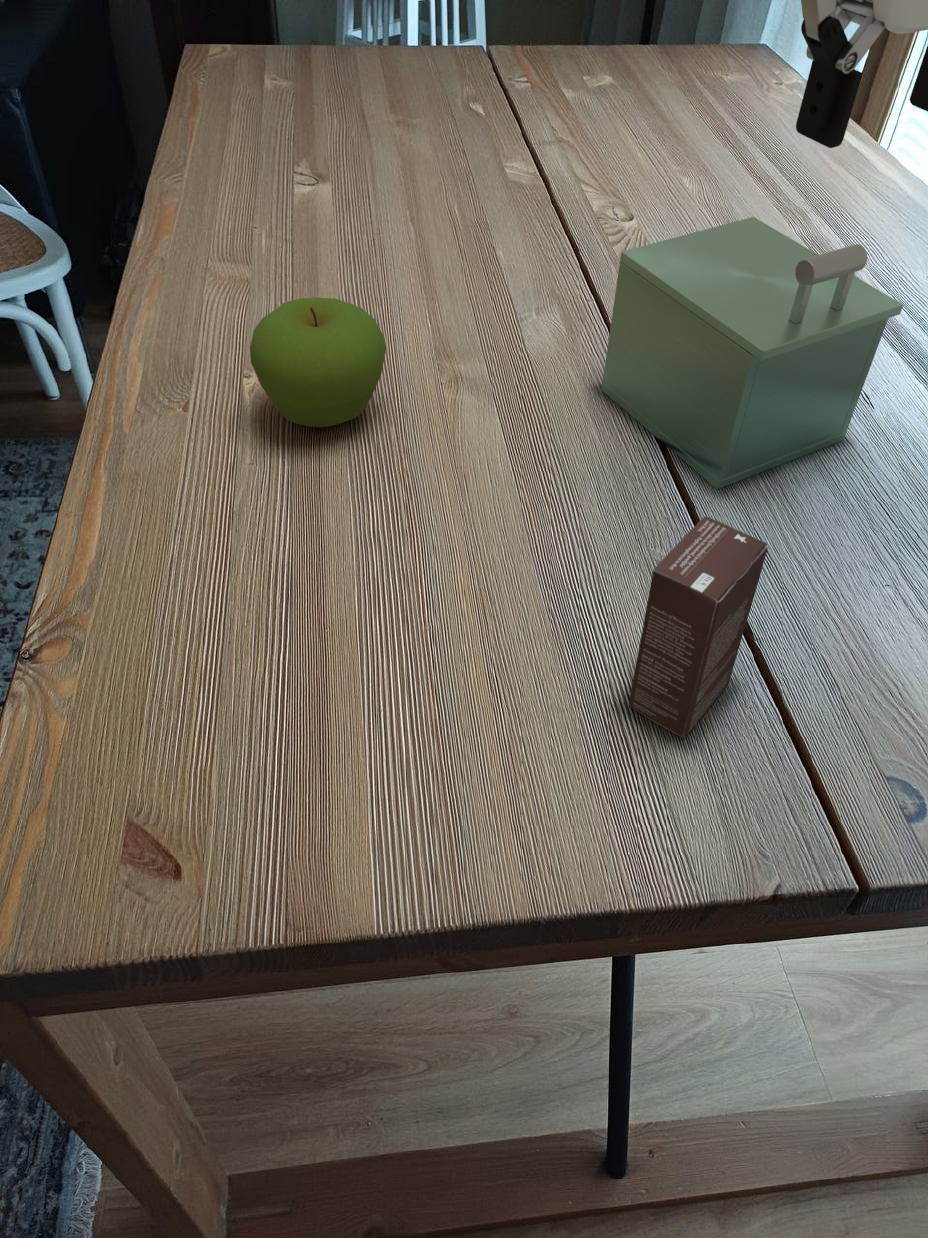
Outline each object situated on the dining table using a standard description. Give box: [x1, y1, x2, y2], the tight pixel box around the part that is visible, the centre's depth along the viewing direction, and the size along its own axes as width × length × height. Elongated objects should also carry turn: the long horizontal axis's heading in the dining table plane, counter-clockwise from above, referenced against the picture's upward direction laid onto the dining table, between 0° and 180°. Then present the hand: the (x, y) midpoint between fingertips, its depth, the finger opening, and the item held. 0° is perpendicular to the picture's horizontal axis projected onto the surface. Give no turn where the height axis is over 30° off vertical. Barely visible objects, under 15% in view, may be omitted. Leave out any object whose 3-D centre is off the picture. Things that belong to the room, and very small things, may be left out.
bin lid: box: [619, 216, 904, 360], centre depth 73 cm, size 16×14×5 cm
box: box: [628, 516, 770, 739], centre depth 58 cm, size 6×4×12 cm
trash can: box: [600, 261, 889, 490], centre depth 79 cm, size 16×14×12 cm
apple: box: [249, 297, 387, 428], centre depth 78 cm, size 11×10×10 cm
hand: (875, 124), depth 59 cm, fingers open, 9 cm apart
